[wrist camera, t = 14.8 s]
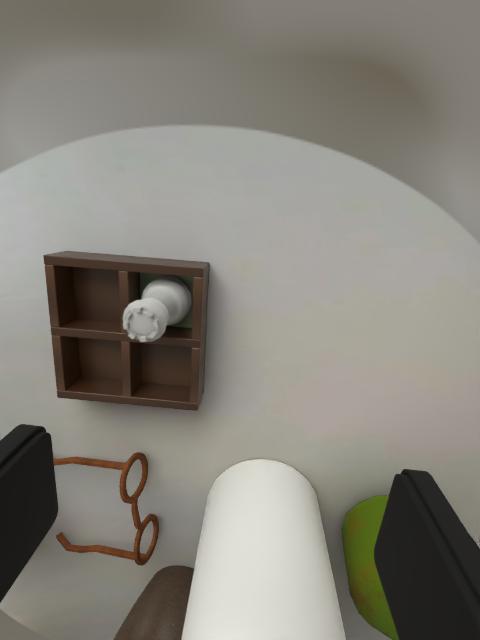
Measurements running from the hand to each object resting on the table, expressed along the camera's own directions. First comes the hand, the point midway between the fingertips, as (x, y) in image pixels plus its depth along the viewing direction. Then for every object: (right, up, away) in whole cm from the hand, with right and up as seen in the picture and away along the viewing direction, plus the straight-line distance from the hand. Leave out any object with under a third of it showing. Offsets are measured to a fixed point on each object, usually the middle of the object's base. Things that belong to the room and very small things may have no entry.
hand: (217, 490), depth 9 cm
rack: (-9, +4, +24) cm, 26 cm away
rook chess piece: (-6, +7, +22) cm, 24 cm away
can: (+3, -16, +30) cm, 34 cm away
